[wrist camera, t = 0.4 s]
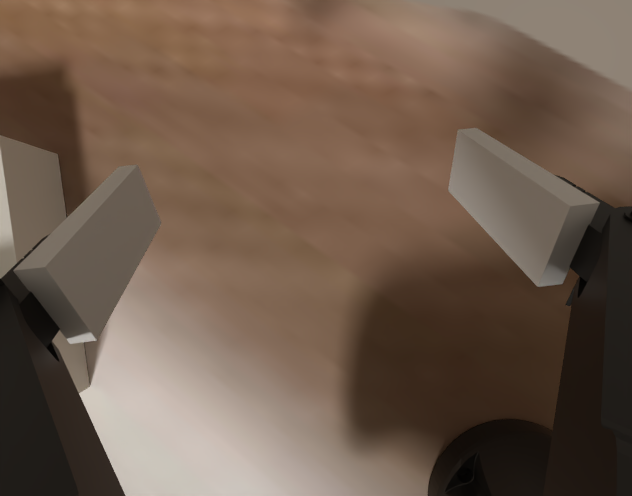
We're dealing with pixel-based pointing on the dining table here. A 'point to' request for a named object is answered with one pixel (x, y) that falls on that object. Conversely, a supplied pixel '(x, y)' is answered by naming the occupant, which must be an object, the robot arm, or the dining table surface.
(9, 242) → the pusher lane
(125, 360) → the dining table surface
